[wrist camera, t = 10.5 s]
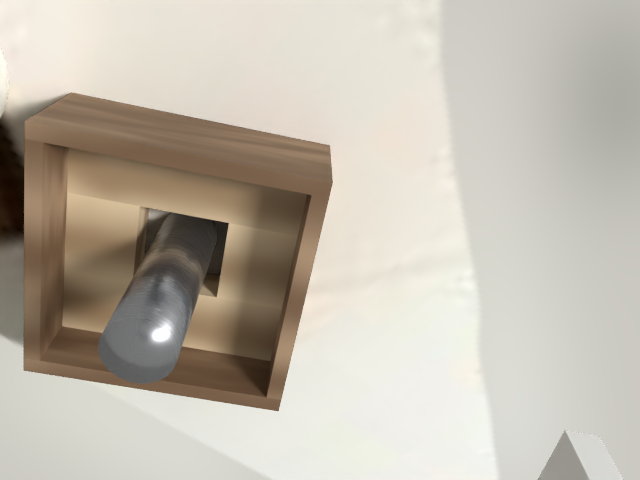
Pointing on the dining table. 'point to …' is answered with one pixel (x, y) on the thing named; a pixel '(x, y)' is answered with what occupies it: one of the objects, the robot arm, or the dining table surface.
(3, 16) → the dining table surface
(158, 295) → the peg
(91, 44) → the dining table surface
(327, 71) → the dining table surface
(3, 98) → the lidded jar
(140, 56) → the dining table surface
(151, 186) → the box
